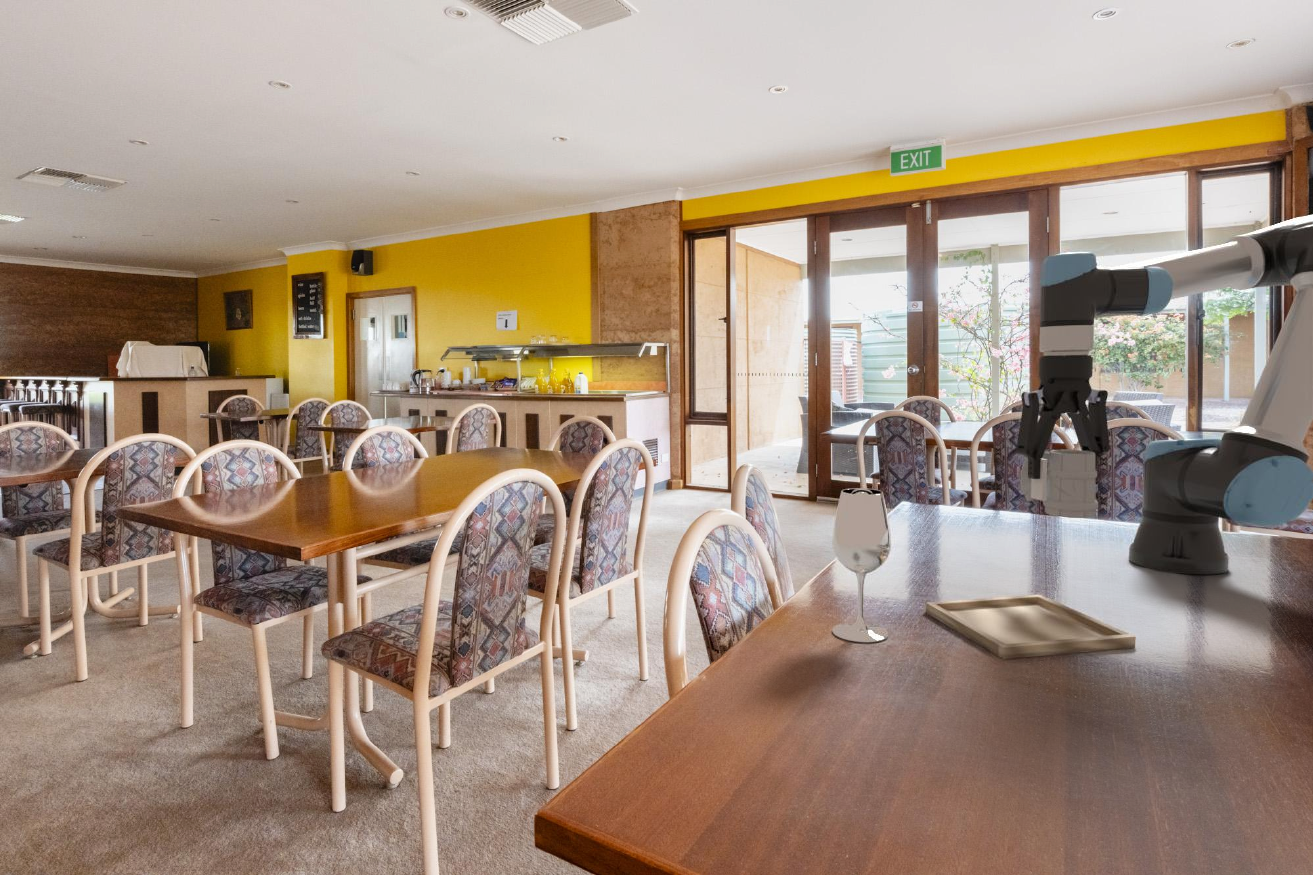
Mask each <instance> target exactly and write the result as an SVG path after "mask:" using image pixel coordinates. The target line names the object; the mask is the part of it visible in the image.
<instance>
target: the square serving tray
mask: <svg viewBox="0 0 1313 875" xmlns="http://www.w3.org/2000/svg"><path fill="white" fill-rule="evenodd" d="M925 613H926V614H928V615H929V616H931V617H932V618H935V619H937V621H940V622H941V623H943V624H944V625H946V626H948V627H950V628H951V629H952V630H955V631H956V632H958V633H959V634H961V635H962V636H964V637H965V638H968V639H969V640H971V641H973V642H974V643H976V644H977V645H979V646H981V647H982V648H984V649H986V650H987V651H989V652H991V653H992V654H994V655H996V656H997V657H999V658H1000V659H1003V660H1008V659H1020V658H1031V657H1043V656H1056V655H1065V654H1066V655H1068V654H1079V653H1090V652H1101V651H1102V652H1103V651H1112V650H1113V651H1114V650H1125V649H1126V650H1127V649H1135V648H1136V640H1137V637H1136V636H1135V635H1133V634H1130V633H1129V632H1127V631H1123V630H1121V629H1120V628H1117V627H1115V626H1113V625H1110V624H1109V623H1105V622H1104V621H1101V620H1098V619H1096V618H1095V617H1092V616H1089V615H1087V614H1085V613H1082V612H1080V611H1078V610H1077V609H1074V608H1071V607H1069V606H1067V605H1065V604H1062V603H1060V602H1057V601H1055V600H1052V599H1050V598H1048V597H1046V596H1044V595H1042V594H1029V595H1014V596H1012V595H1011V596H1001V597H1000V596H999V597H986V598H985V597H984V598H972V599H959V600H958V599H957V600H942V601H930V602H929V601H928V602H925Z"/></svg>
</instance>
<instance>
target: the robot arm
mask: <svg viewBox="0 0 1313 875" xmlns="http://www.w3.org/2000/svg"><path fill="white" fill-rule="evenodd" d="M1277 286H1279V287H1280V286H1281V287H1282V286H1283V287H1284V286H1292V287H1293V289H1294V290H1295V291H1296V294H1295V297H1294V299H1293V301H1292V304H1291V305H1290V308H1289V311H1288V313H1287V315H1286V318H1285V320H1284V322H1283V324H1282V326H1281V329H1280V331H1279V333H1278V336H1277V338H1276V341H1275V343H1274V345H1273V347H1272V349H1271V351H1270V353H1269V356H1268V359H1267V360H1266V363H1265V366H1264V368H1263V370H1262V372H1261V375H1260V378H1259V379H1258V382H1257V384H1256V386H1255V389H1254V391H1253V392H1252V395H1251V397H1250V399H1249V402H1248V405H1247V407H1246V409H1245V412H1244V414H1243V417H1242V418H1241V421H1240V423H1239V425H1238V426H1236V427H1234V428H1231V429H1229V430H1226V431H1224V433H1223V435H1222V438H1221V439H1220V438H1191V439H1190V438H1188V439H1186V438H1185V439H1161V440H1153V441H1150V442H1149V443H1148V444H1147V445H1146V447H1145V450H1144V458H1143V460H1142V463H1143V470H1142V472H1143V475H1142V477H1143V478H1142V503H1141V505H1142V506H1141V507H1142V508H1141V509H1142V510H1141V519H1140V523H1139V525H1138V528H1137V530H1136V533H1135V535H1134V539H1133V542H1132V543H1131V544H1130V546H1129V548H1128V549H1129V550H1128V560H1129V561H1130V562H1131V563H1133V564H1135V565H1137V566H1138V565H1139V566H1141V567H1145V568H1148V569H1153V570H1157V571H1162V572H1169V573H1175V574H1176V573H1178V574H1185V575H1219V574H1224V573H1226V572H1228V571H1229V564H1230V563H1229V562H1230V561H1229V555H1228V553H1227V552H1225V546H1224V541H1223V537H1222V534H1221V531H1220V527H1219V522H1220V521H1219V520H1220V519H1224V520H1229V521H1234V522H1236V523H1238V524H1240V525H1245V526H1255V527H1256V526H1257V527H1260V528H1261V527H1262V528H1275V527H1280V526H1283V525H1285V524H1287V523H1290V522H1293V521H1294V520H1295V519H1297V518H1299V517H1300V516H1301V515H1302V514H1303V513H1304V512H1305V511H1306V510H1307V509H1308V507H1309V506H1310V504H1311V503H1312V501H1313V469H1311V467H1310V466H1309V465H1308V464H1307V463H1308V461H1309V458H1310V453H1309V451H1308V450H1307V449H1306V447H1305V444H1304V440H1305V438H1306V436H1307V434H1308V431H1309V429H1310V428H1311V425H1312V422H1313V214H1309V215H1303V216H1299V217H1295V218H1292V219H1289V220H1285V221H1281V222H1280V223H1279V222H1278V223H1276V224H1274V225H1273V224H1272V225H1270V226H1267V227H1265V228H1261V229H1258V230H1255V231H1251V232H1248V233H1243V234H1240V235H1239V234H1238V235H1235V236H1232V237H1229V238H1228V239H1227V240H1226V241H1225V242H1224V243H1223V244H1220V245H1219V244H1218V245H1215V246H1214V245H1213V246H1210V247H1206V248H1202V249H1196V250H1191V251H1185V252H1183V253H1181V252H1180V253H1177V254H1172V255H1166V256H1163V257H1158V258H1157V257H1156V258H1153V259H1147V260H1144V261H1139V262H1134V263H1127V264H1124V265H1119V266H1107V267H1106V266H1105V267H1104V266H1099V265H1098V263H1097V257H1096V255H1095V254H1094V253H1092V252H1087V251H1086V252H1085V251H1078V252H1065V253H1064V252H1063V253H1058V254H1052V255H1049V256H1048V257H1046V258H1044V260H1043V262H1042V266H1041V274H1040V283H1039V287H1040V297H1039V298H1040V300H1039V301H1040V305H1039V306H1040V309H1039V313H1040V314H1039V315H1040V316H1039V318H1040V319H1039V352H1040V353H1043V355H1042V356H1040V358H1039V359H1038V378H1039V380H1040V384H1039V387H1038V388H1037V390H1034V391H1023V392H1021V395H1020V397H1021V404H1022V411H1021V418H1020V423H1019V430H1018V435H1017V436H1018V437H1017V442H1016V449H1015V452H1016V453H1017V454H1018V455H1022V456H1024V457H1025V458H1026V457H1027V458H1028V477H1029V478H1031V498H1034V500H1037V501H1038V500H1039V501H1042V502H1043V501H1045V500H1046V497H1047V478H1048V476H1047V468H1048V461H1049V459H1042V457H1043V455H1044V452H1046V449H1047V447H1048V443H1049V441H1050V438H1051V437H1052V434H1053V431H1054V428H1055V425H1056V423H1057V421H1058V420H1059V419H1060V418H1061V416H1062V414H1063V415H1064V414H1067V417H1069V418H1070V421H1071V423H1072V426H1073V428H1074V432H1075V435H1076V438H1077V441H1078V443H1079V444H1078V445H1079V446H1080V451H1090V452H1094V453H1095V470H1097V468H1098V458H1100V457H1102V456H1103V455H1104V452H1105V453H1108V452H1109V450H1110V449H1111V448H1110V437H1109V428H1108V418H1107V406H1106V404H1107V401H1108V396H1109V395H1108V394H1109V393H1108V391H1107V390H1105V389H1104V390H1103V389H1093V388H1092V386H1091V384H1090V380H1091V378H1092V377H1093V371H1094V370H1093V365H1094V360H1093V359H1094V357H1093V356H1092V355H1090V352H1092V351H1093V350H1094V346H1095V344H1094V343H1095V342H1094V341H1095V338H1094V337H1095V334H1094V333H1095V327H1094V326H1095V319H1097V318H1106V317H1107V318H1108V317H1118V316H1119V317H1120V316H1138V317H1139V316H1145V315H1155V314H1158V313H1160V312H1162V311H1163V310H1164V309H1165V308H1167V306H1168V305H1169V303H1170V301H1171V300H1174V299H1179V298H1184V297H1188V296H1192V295H1198V294H1199V295H1200V294H1201V293H1202V294H1204V293H1209V292H1213V291H1217V290H1221V289H1226V288H1231V289H1233V290H1235V291H1236V290H1237V291H1244V290H1245V291H1246V290H1249V289H1254V288H1255V289H1257V288H1262V287H1277ZM1086 402H1088V403H1086ZM1041 403H1042V405H1041V407H1040V404H1041ZM1040 408H1041V409H1040ZM1219 518H1220V519H1219Z"/></svg>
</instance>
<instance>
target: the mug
mask: <svg viewBox="0 0 1313 875" xmlns="http://www.w3.org/2000/svg"><path fill="white" fill-rule="evenodd" d="M1042 459H1048V464H1047V497H1046V500H1045V501H1042V502H1043V506H1044V512H1045V514H1046V515H1049V516H1052V517H1053V516H1054V517H1062V518H1069V519H1082V518H1083V519H1089V518H1094V517H1096V512H1097V511H1096V510H1097V509H1098V507H1099V501H1098V500H1097V498H1096V497H1097V496H1096V478H1097V477H1098V471H1097V470H1095V453H1094V452H1090V451H1082V450H1081V449H1080V450H1079V449H1052V450H1050V451H1045V452H1044V455H1043V457H1042ZM1019 474H1020V475H1019V476H1020V490H1021V493H1022V494H1023V495H1024V497H1025V500H1026V502H1033V501H1034V500H1035V499H1034V498H1031V478H1029V477H1028V458H1027V457H1025V458H1024V461H1023V464H1022V467H1021V470H1020V472H1019Z"/></svg>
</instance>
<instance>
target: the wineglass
mask: <svg viewBox="0 0 1313 875" xmlns="http://www.w3.org/2000/svg"><path fill="white" fill-rule="evenodd" d="M889 521H890V520H889V516H888V510H887V506H886V500H885V496H884V492H883V491H882V490H879V489H873V488H866V487H865V488H864V487H863V488H861V487H859V488H858V487H857V488H855V487H854V488H853V487H852V488H845V489H842V490H841V491H840V496H839V499H838V504H837V508H836V513H835V519H834V523H833V531H832V541H831V542H832V549H833V553H834V555H835V557H836V559H837V560H838V562H839V563H840V564H841V565H842V566H844V567H845V568H846V569H848V570H849V571H851V572H852V573H855V575H856V578H857V579H856V580H857V597H858V598H857V618H856V620H855V621H854V622H843V623H839V624H836V625H834V626H833V627H832V633H833V635H835V636H836V637H838V638H839V639H842V640H845V641H849V642H856V643H863V644H864V643H877V642H880V641H881V642H882V641H884V640H886V639H887V638H888V637H889V632H888V630H887V629H885V628H884V627H882V626H880V625H876V624H873V623H867V622H866V621H865V618H864V587H865V586H864V585H865V579H866V575H867V574H869V573H872V572H874V571H876V570H877V569H879V568H880V567H881V566H883V565H884V563H885V562H886V560H887V559H888V558H889V555H890V553H891V549H892V547H891V546H892V537H891V527H890V526H891V525H890V522H889Z"/></svg>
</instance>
